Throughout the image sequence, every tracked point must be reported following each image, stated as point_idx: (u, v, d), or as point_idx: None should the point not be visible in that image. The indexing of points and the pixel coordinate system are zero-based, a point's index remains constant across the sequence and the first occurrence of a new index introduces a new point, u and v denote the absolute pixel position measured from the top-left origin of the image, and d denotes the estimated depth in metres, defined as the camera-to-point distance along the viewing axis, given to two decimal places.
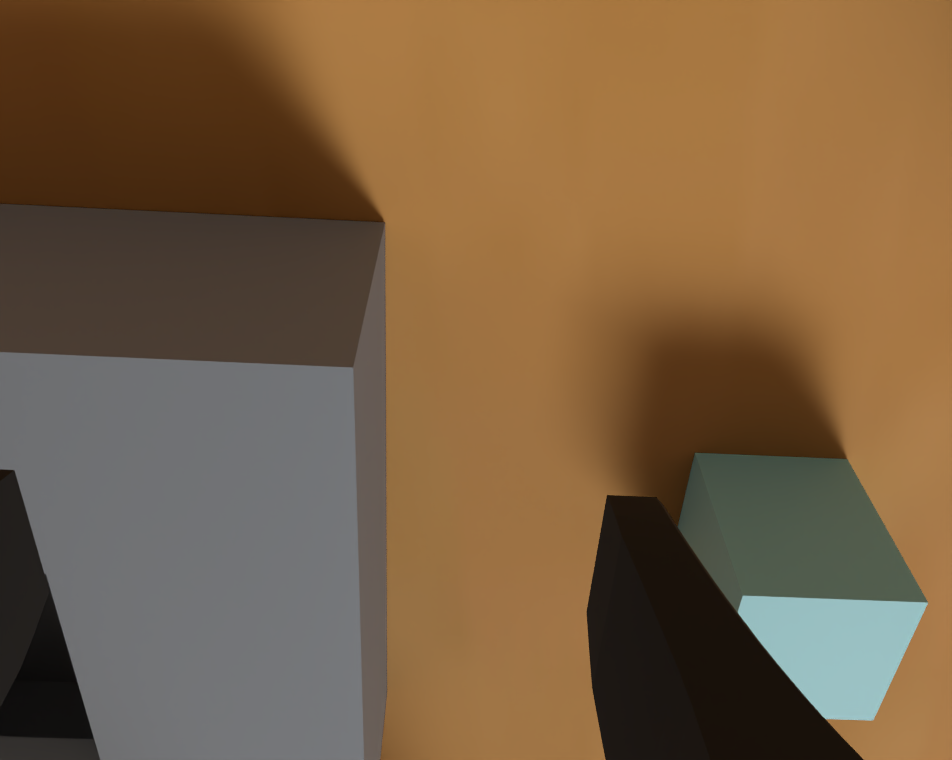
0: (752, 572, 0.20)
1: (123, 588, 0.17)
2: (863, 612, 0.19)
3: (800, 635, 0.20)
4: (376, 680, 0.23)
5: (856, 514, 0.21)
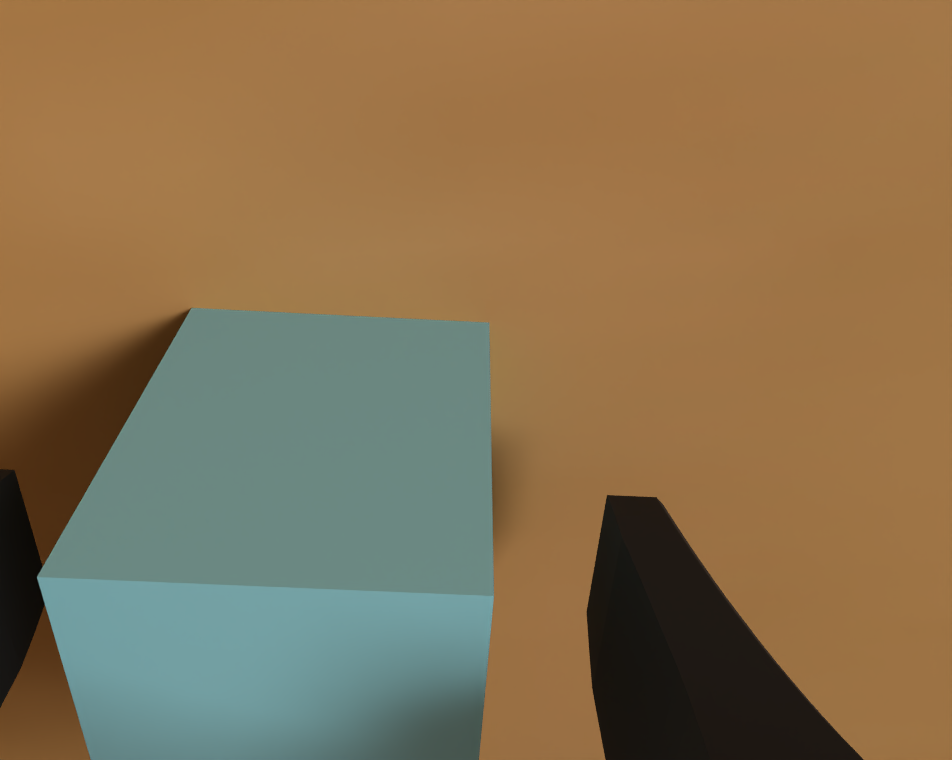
0: None
1: None
2: (105, 676, 0.09)
3: (202, 753, 0.09)
4: None
5: None
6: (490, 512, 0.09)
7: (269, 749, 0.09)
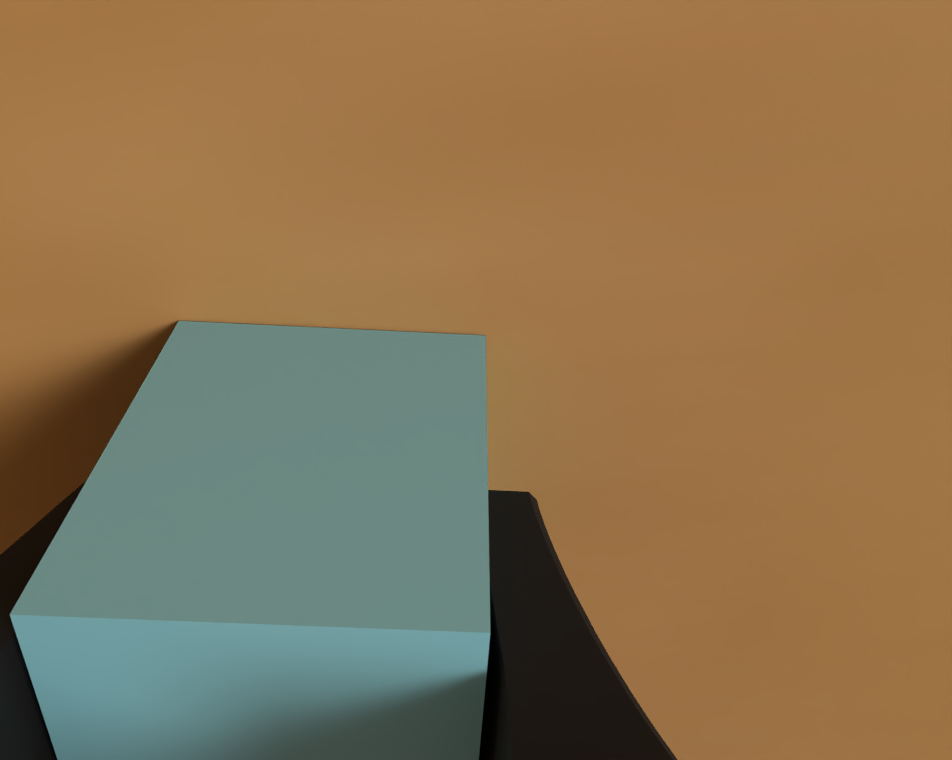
0: None
1: None
2: (82, 714, 0.08)
3: None
4: None
5: None
6: (486, 541, 0.08)
7: None
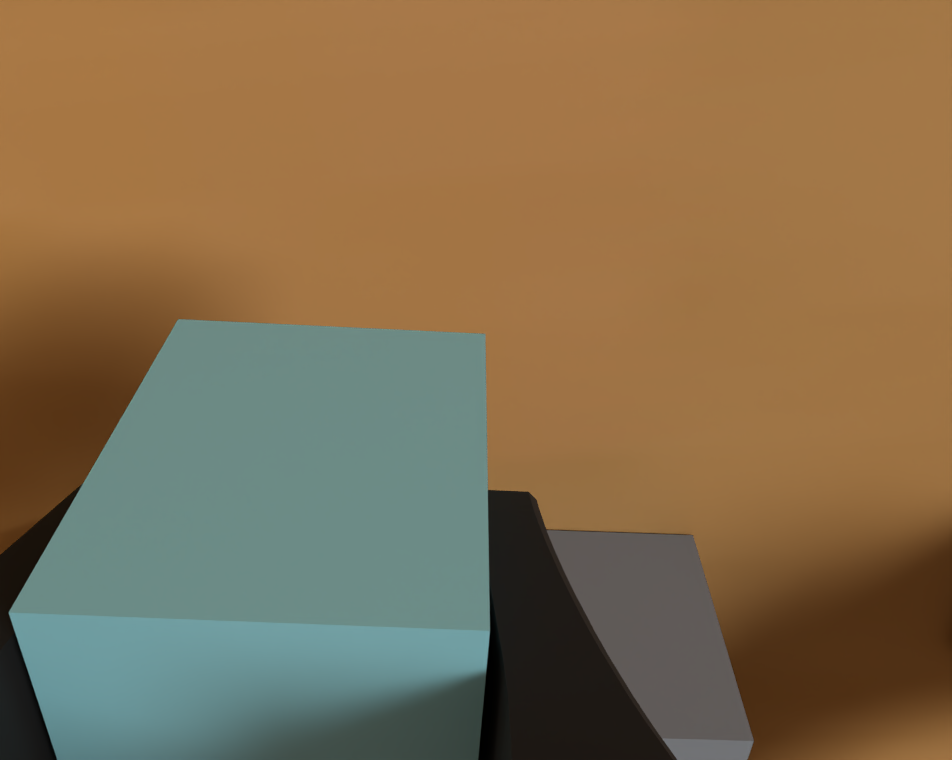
0: None
1: None
2: (81, 714, 0.08)
3: None
4: None
5: None
6: (486, 539, 0.08)
7: None
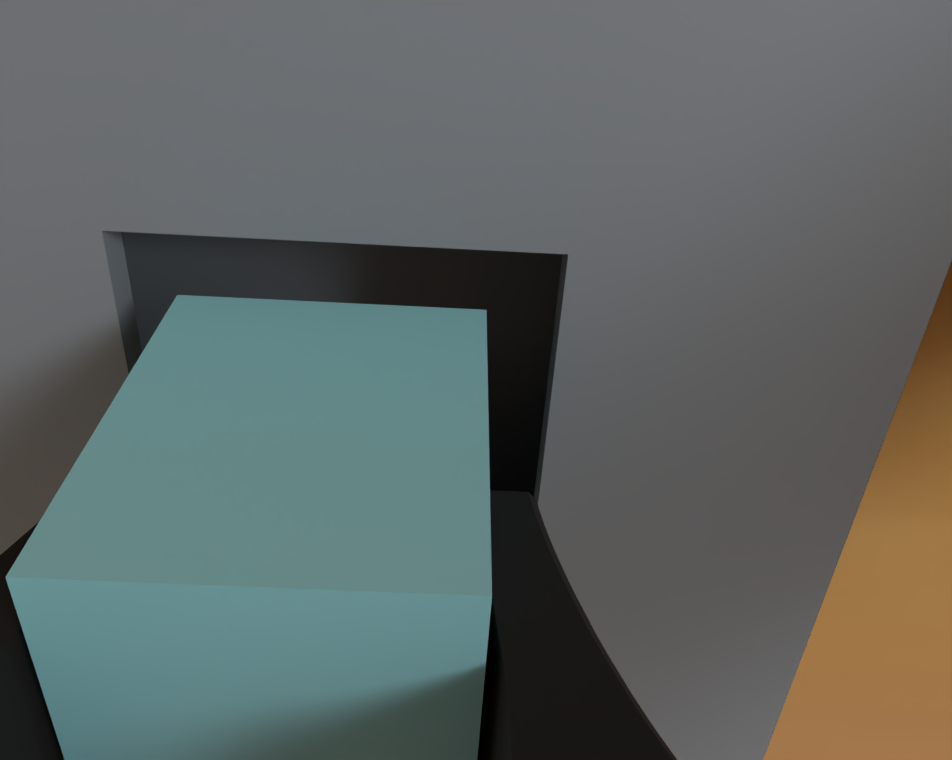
0: None
1: (106, 121, 0.11)
2: (79, 683, 0.08)
3: None
4: None
5: None
6: (488, 507, 0.08)
7: (255, 758, 0.09)
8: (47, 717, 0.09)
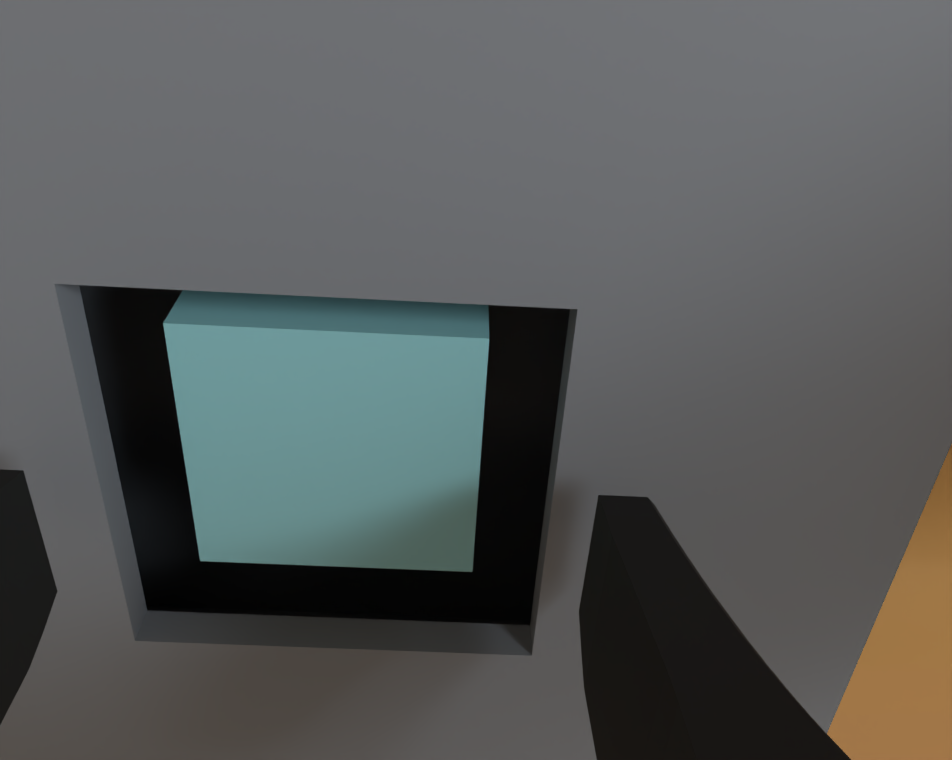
0: None
1: (56, 164, 0.09)
2: (204, 412, 0.12)
3: (272, 483, 0.12)
4: None
5: None
6: None
7: (322, 478, 0.12)
8: None
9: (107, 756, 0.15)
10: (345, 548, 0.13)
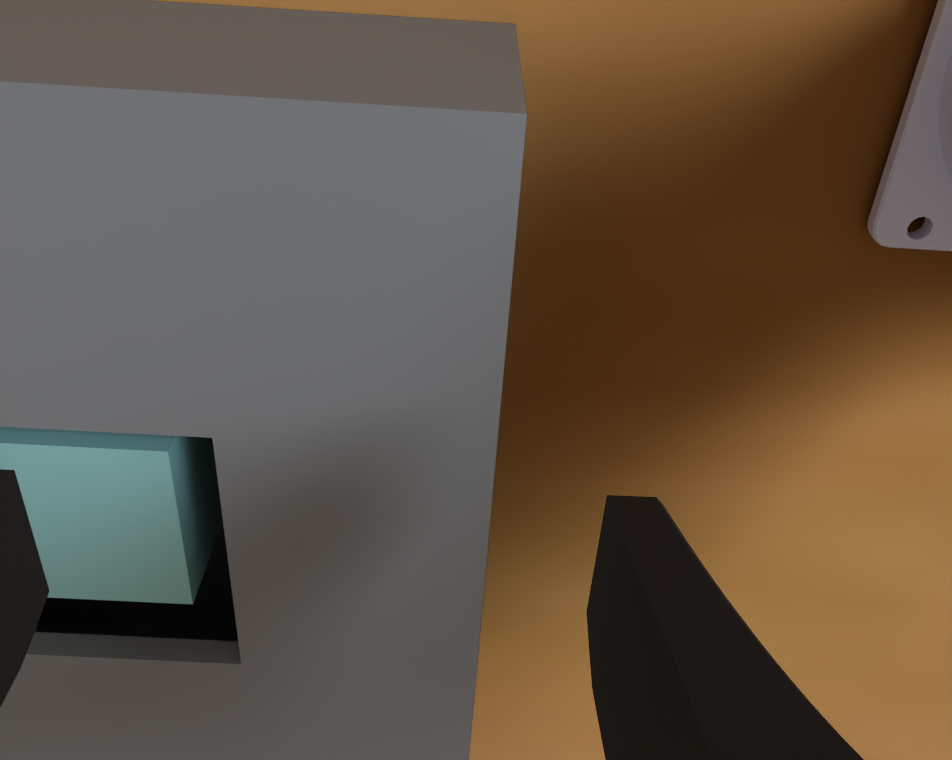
0: None
1: None
2: None
3: (39, 542, 0.18)
4: (248, 45, 0.15)
5: None
6: None
7: (73, 540, 0.18)
8: None
9: None
10: (99, 587, 0.18)
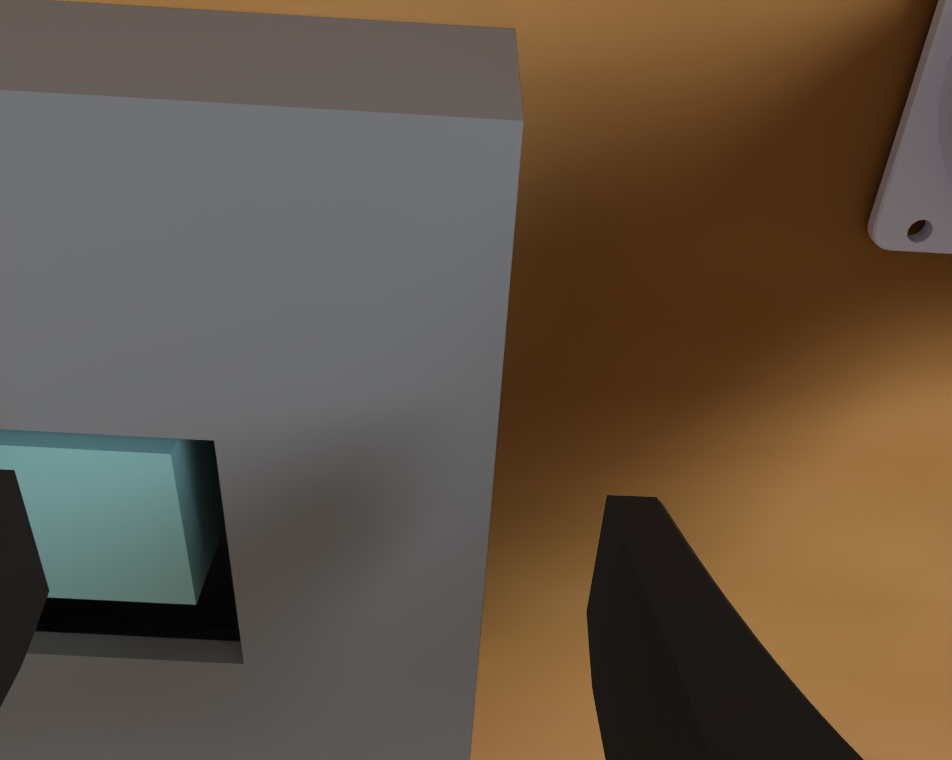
0: None
1: None
2: None
3: (44, 544, 0.18)
4: (248, 52, 0.15)
5: None
6: None
7: (78, 541, 0.18)
8: None
9: None
10: (103, 588, 0.18)
